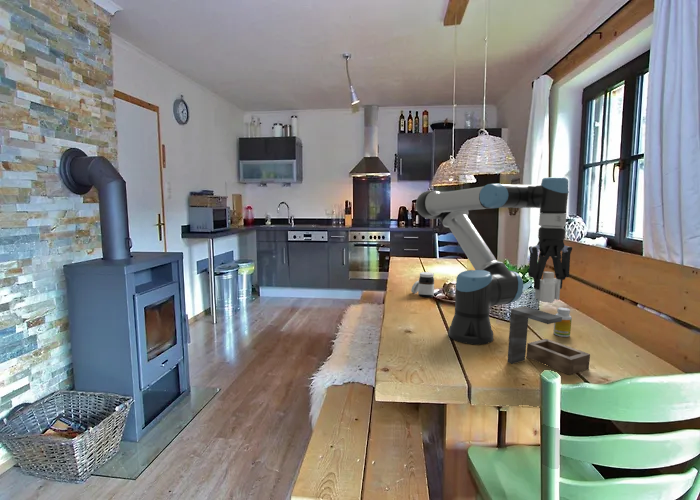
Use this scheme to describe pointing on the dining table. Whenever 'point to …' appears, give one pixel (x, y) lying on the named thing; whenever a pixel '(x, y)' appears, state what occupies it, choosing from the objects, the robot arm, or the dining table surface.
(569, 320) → the supplement bottle
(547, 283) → the pepper shaker
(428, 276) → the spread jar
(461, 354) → the dining table surface
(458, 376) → the dining table surface
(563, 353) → the brown and grey frame
